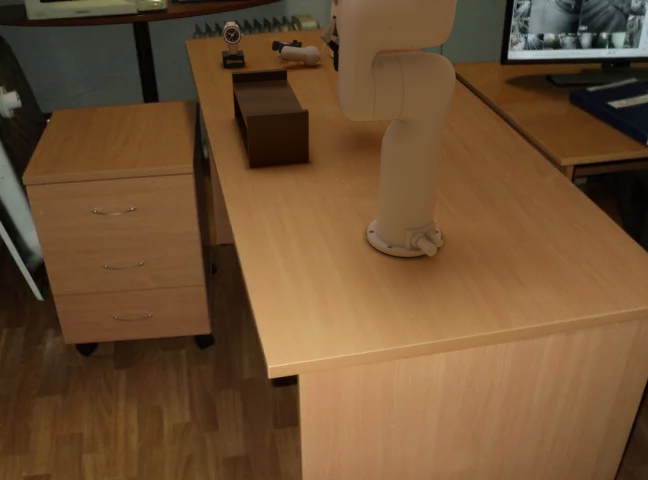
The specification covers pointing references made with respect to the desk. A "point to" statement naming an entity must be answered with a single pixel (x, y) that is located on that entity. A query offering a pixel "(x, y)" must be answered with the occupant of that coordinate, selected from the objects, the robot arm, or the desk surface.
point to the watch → (232, 46)
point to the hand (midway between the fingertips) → (354, 68)
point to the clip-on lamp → (298, 52)
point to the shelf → (270, 118)
